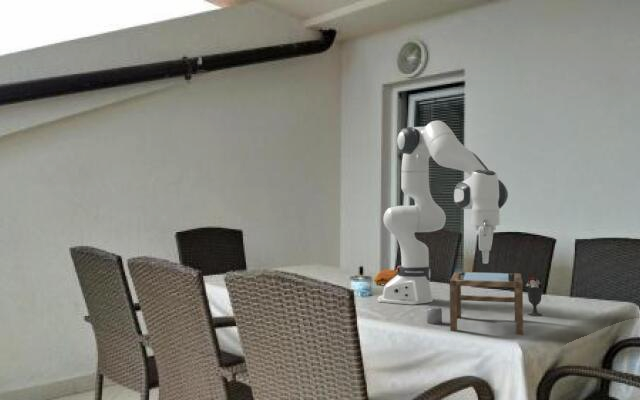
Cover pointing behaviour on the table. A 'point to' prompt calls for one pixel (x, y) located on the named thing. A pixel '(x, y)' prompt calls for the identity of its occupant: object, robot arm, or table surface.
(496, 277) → the trapdoor
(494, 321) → the table surface
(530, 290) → the sundae
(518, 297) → the stand
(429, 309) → the gray cylinder
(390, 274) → the croissant
